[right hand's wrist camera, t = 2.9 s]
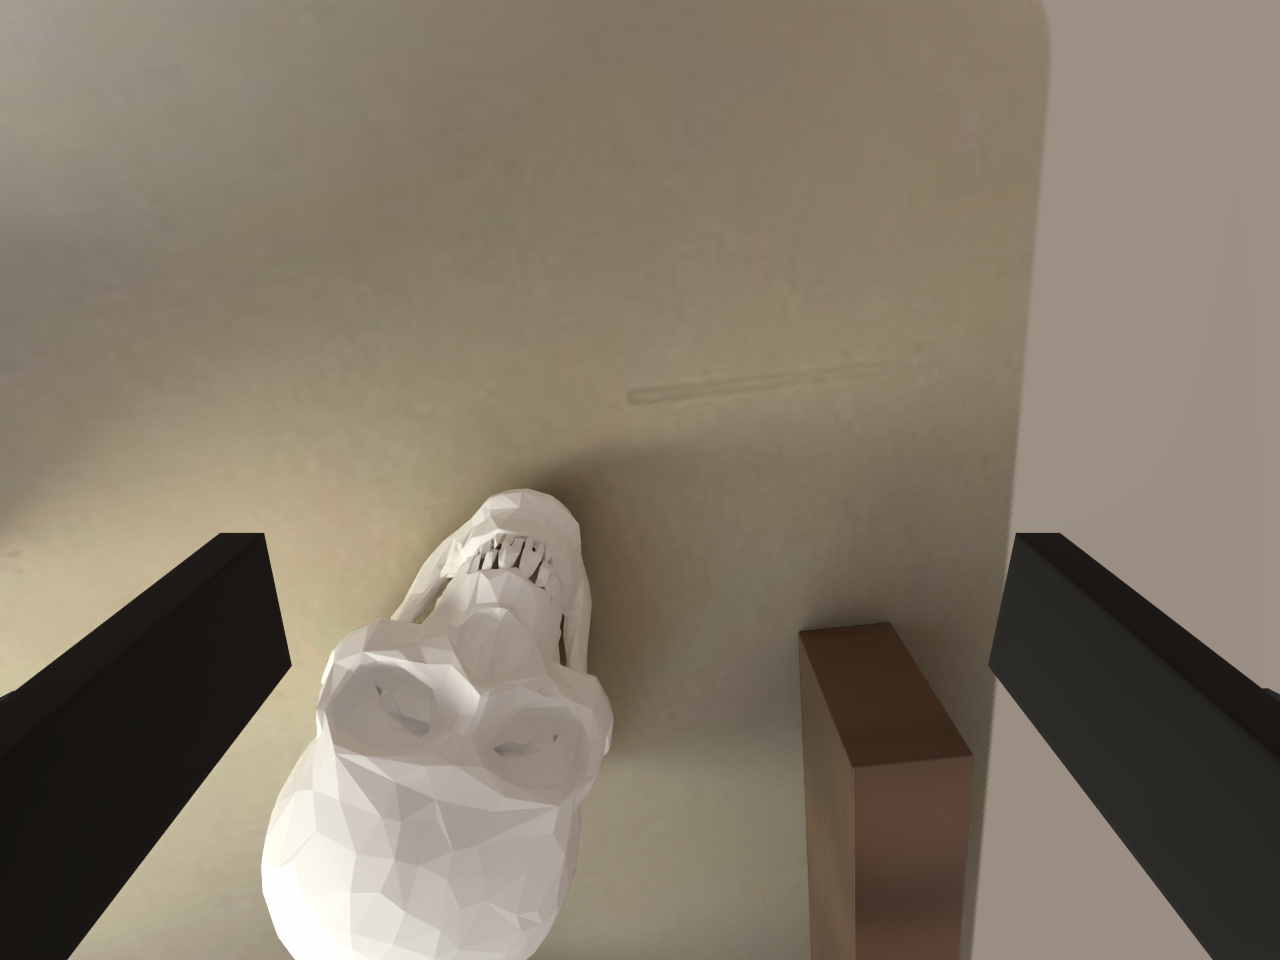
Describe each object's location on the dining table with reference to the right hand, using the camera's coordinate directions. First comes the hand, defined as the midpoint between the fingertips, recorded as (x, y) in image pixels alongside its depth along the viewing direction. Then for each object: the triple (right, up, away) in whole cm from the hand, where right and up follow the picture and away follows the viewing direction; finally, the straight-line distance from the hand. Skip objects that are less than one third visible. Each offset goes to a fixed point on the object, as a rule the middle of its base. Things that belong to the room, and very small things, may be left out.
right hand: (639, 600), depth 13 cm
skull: (-8, -7, +26) cm, 28 cm away
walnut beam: (+13, -22, +32) cm, 41 cm away
